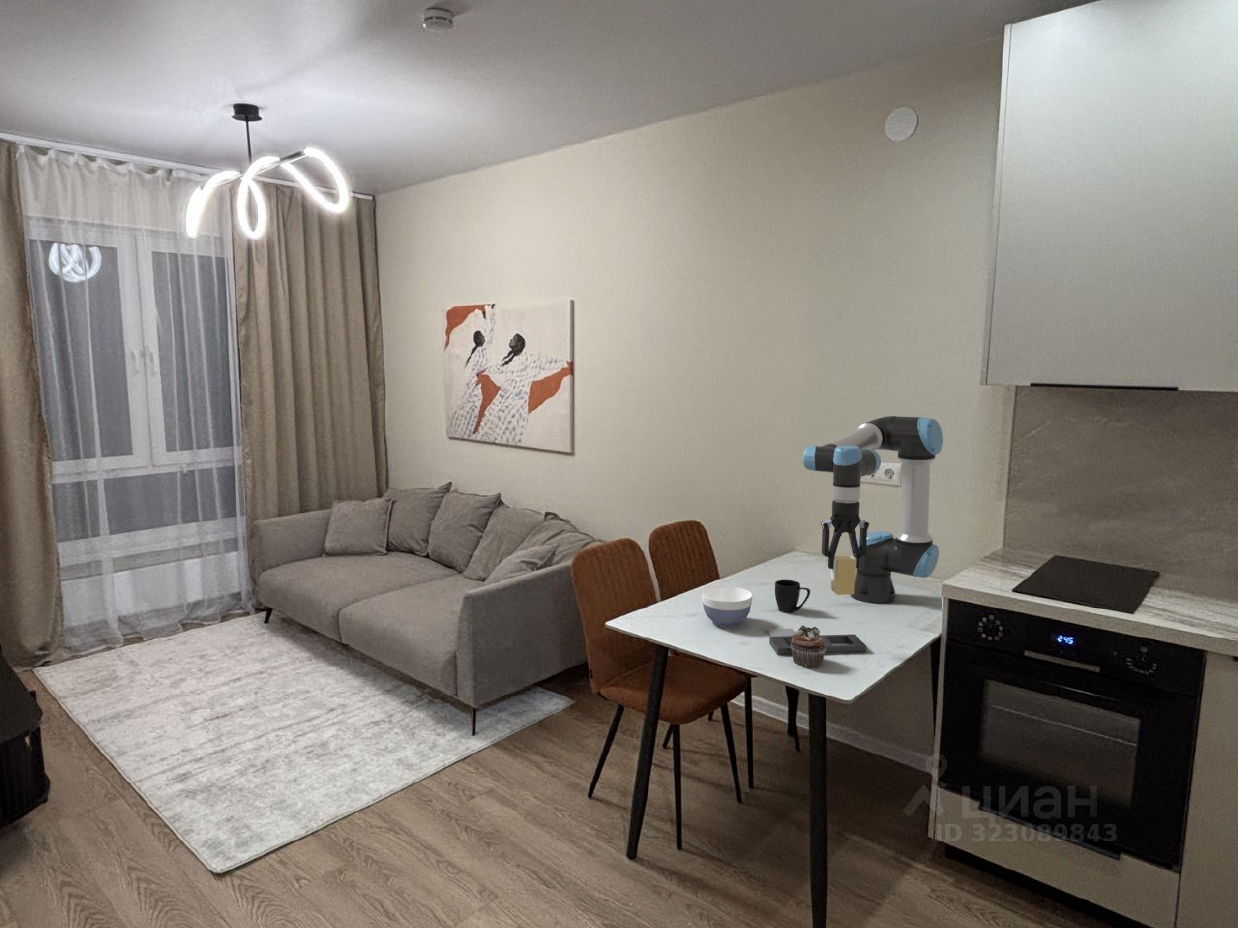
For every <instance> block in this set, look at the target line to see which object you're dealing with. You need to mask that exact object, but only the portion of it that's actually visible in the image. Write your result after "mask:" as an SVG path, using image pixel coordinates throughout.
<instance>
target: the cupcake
mask: <svg viewBox="0 0 1238 928" xmlns="http://www.w3.org/2000/svg"><path fill="white" fill-rule="evenodd" d="M820 634H821V630H820V629H819V628H818V627H816V626H813V627H807V626H805V625H803V624H802V625H800V628H797V630H796V631H795V634H794V635H793V637H792V642H791V644H790V646H791V649H792V660H793V663H794V664H795V665H796V664H797V665H796V666H799V667H801V666H802V667H801V668H805V667H806V669H817V668H820V667H822V666H823V663H824V659H825V655H826V654H825V651H826V646H825V644H824V643H823V638H822V637H821V636H820Z"/></svg>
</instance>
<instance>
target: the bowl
mask: <svg viewBox="0 0 1238 928" xmlns="http://www.w3.org/2000/svg"><path fill="white" fill-rule="evenodd" d="M701 596H702V597H701V598H702V601H701V602H702V605H703V610H704V612H705V615H706V616H707V618H708V619H710V621H711V622H712V624H713V625H714V626H716V627H720V628H729V629H730V628H736V627H739V626H740V625H741V624H742V622H744V621H745V620H746V619H747V617H748V616H749V614H750V612H751V607H752V603H753V602H752V601H753V594H752V592H751V591H749V590H747V589H743V588H740V587H735V586H715V587H714V586H713V587H708V588H706V589H704V590H703V591H702V593H701Z"/></svg>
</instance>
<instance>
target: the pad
mask: <svg viewBox="0 0 1238 928" xmlns="http://www.w3.org/2000/svg"><path fill="white" fill-rule="evenodd" d="M766 631H767V633H768V634H769V635H770V636H769V637H782V636H793V635H794V634H795V632H796V631H795V630H794V628H767V629H766Z"/></svg>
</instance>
